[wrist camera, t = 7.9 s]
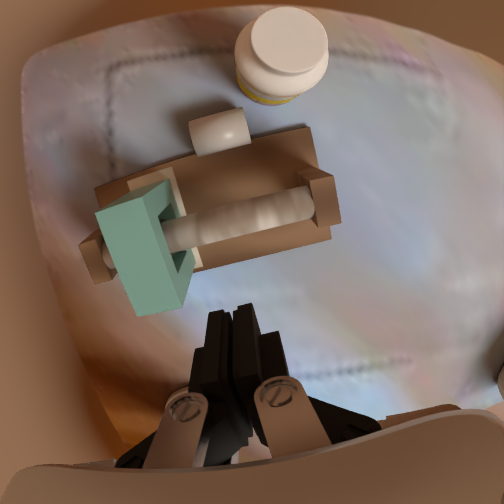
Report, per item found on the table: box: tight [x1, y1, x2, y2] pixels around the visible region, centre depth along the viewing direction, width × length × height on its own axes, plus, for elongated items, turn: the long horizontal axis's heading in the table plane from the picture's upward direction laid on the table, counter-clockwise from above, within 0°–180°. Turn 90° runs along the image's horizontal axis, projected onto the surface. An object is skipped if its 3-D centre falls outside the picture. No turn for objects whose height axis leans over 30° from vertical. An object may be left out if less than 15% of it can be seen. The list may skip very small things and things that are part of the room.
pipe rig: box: [78, 127, 341, 284], centre depth 28 cm, size 12×23×8 cm, turn 104°
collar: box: [95, 178, 196, 317], centre depth 26 cm, size 9×4×9 cm, turn 14°
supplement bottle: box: [235, 7, 329, 106], centre depth 21 cm, size 7×7×13 cm
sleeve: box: [189, 107, 251, 157], centre depth 27 cm, size 4×5×4 cm
